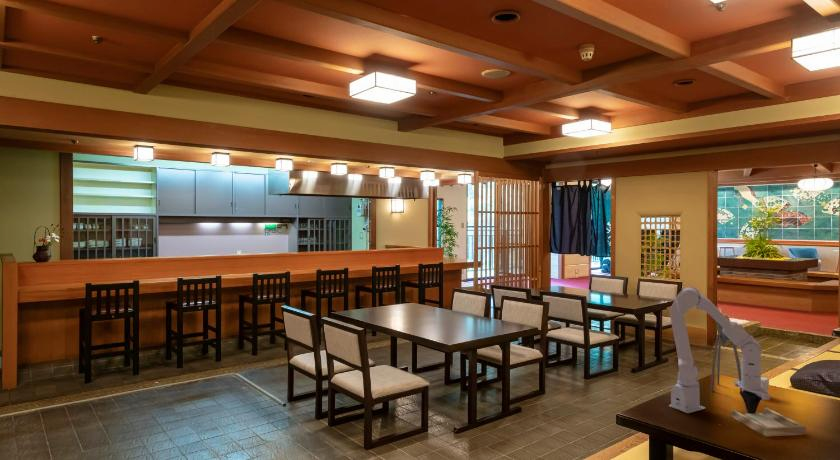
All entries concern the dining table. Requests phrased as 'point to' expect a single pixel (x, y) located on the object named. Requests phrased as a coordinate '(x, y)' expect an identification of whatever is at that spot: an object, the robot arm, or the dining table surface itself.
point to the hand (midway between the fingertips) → (751, 413)
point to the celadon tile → (758, 417)
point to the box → (788, 429)
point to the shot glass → (765, 383)
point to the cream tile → (770, 423)
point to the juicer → (721, 339)
